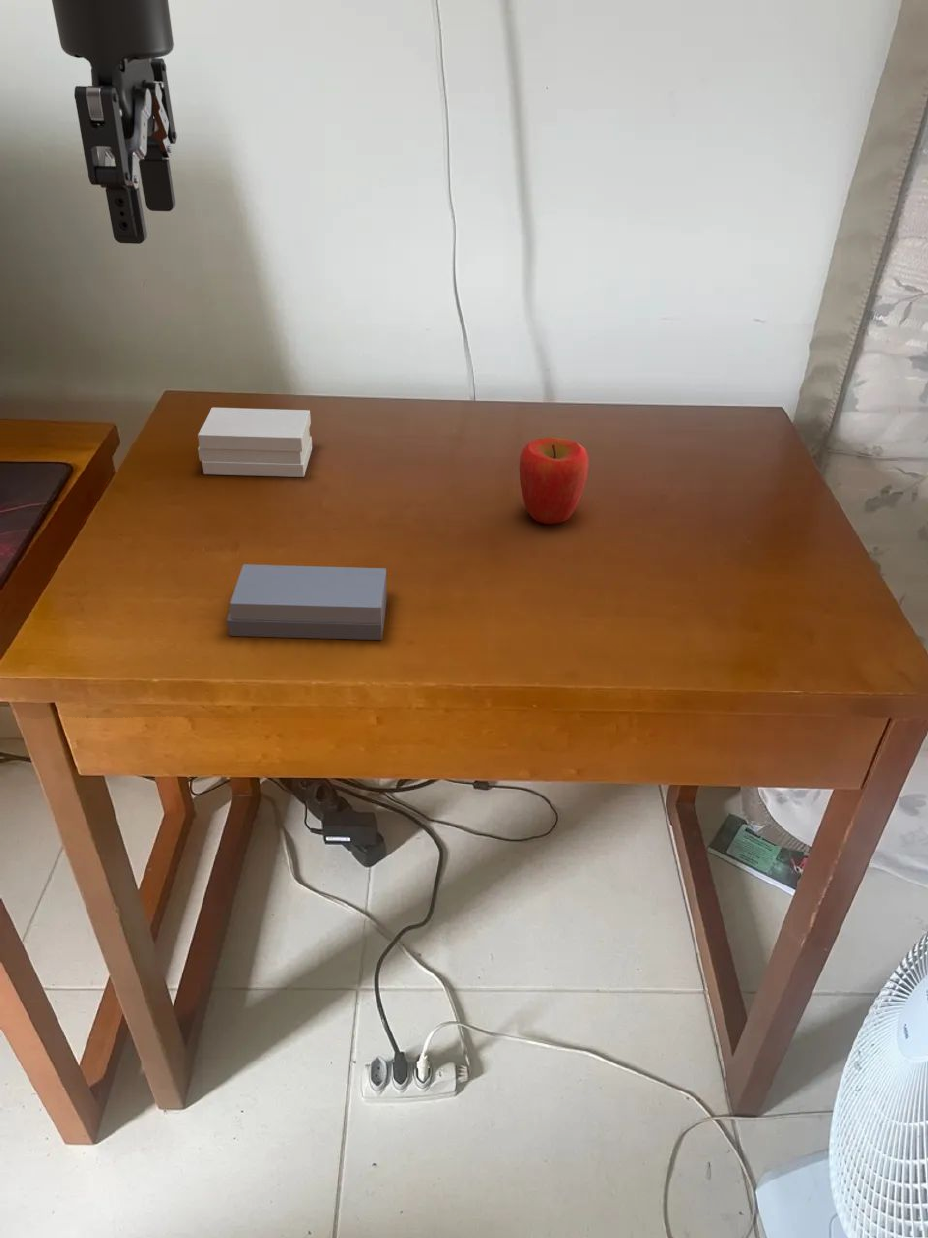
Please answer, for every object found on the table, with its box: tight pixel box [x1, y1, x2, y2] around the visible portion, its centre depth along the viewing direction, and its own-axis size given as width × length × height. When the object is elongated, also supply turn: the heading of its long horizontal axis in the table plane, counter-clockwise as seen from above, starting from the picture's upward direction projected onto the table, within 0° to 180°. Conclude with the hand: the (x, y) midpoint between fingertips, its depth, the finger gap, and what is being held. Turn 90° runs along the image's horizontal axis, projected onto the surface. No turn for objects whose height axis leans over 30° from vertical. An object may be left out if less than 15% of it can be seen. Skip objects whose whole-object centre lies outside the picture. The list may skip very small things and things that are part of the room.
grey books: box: [226, 563, 388, 641], centre depth 78 cm, size 12×6×3 cm, turn 89°
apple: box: [519, 437, 590, 525], centre depth 91 cm, size 6×6×8 cm
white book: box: [197, 407, 312, 452], centre depth 98 cm, size 10×6×2 cm, turn 89°
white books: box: [197, 430, 313, 478], centre depth 99 cm, size 10×6×3 cm, turn 89°
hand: (147, 225), depth 75 cm, fingers open, 8 cm apart
